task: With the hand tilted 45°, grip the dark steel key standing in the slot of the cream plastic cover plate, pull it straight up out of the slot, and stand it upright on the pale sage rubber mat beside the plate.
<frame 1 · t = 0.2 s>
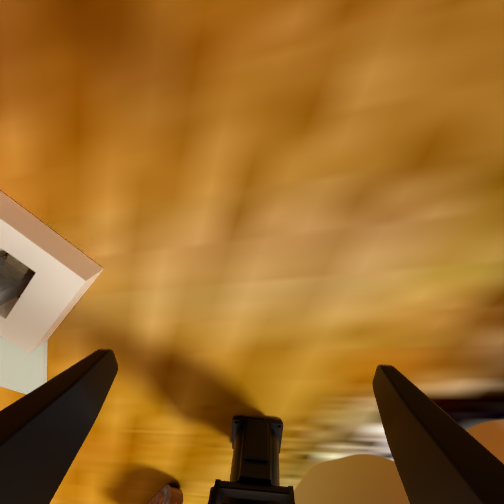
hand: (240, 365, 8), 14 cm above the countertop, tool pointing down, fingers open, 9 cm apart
key mat: (3, 353, 30), on the countertop
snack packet: (164, 495, 41), on the countertop
cover plate: (23, 270, 25), on the countertop
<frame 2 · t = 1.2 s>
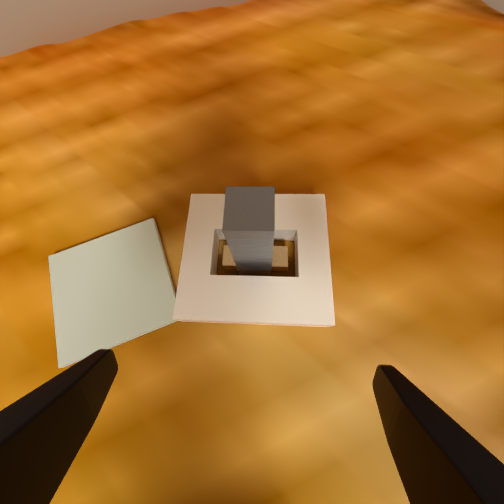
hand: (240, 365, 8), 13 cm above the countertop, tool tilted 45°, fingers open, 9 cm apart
key mat: (114, 286, 23), on the countertop
t key: (253, 240, 19), in the cover plate
cover plate: (255, 260, 23), on the countertop
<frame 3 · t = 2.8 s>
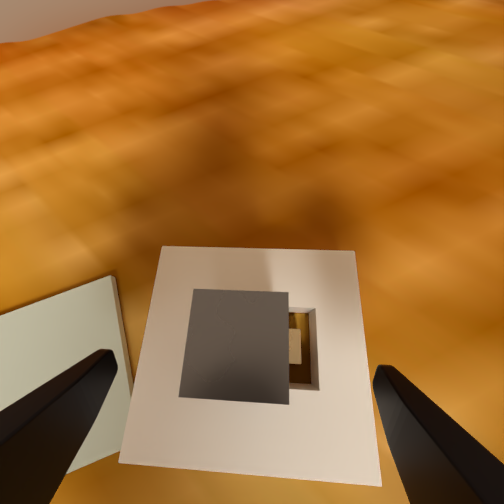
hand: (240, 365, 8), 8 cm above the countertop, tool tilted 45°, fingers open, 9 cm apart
key mat: (47, 380, 16), on the countertop
t key: (248, 343, 12), in the cover plate
cover plate: (253, 343, 16), on the countertop
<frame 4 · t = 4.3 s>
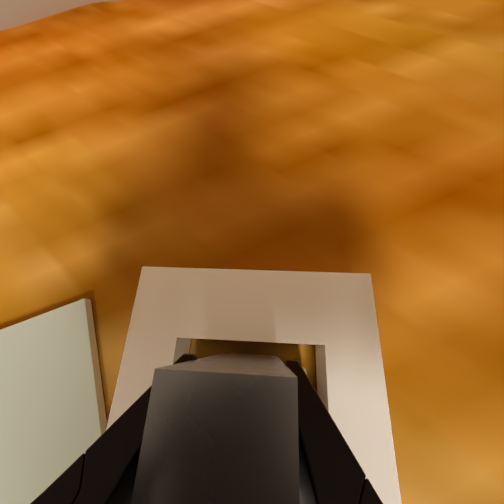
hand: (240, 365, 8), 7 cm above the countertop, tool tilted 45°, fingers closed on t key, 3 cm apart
key mat: (7, 425, 14), on the countertop
t key: (242, 401, 9), in the cover plate, touching gripper
cover plate: (250, 382, 14), on the countertop
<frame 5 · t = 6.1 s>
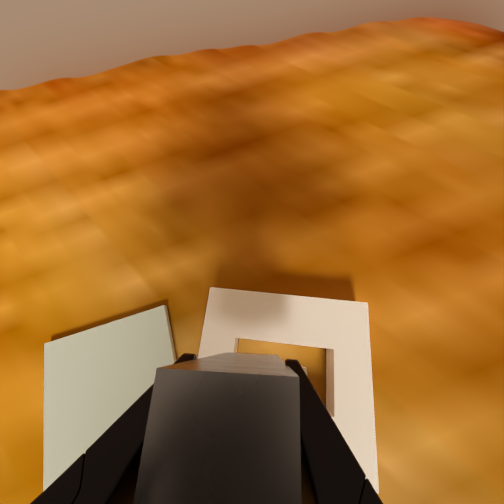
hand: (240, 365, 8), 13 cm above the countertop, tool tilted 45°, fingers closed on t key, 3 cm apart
key mat: (115, 388, 20), on the countertop
t key: (243, 401, 9), point 12 cm above the countertop, touching gripper
cover plate: (279, 371, 20), on the countertop
when the fingers open (8 cm above the countertop, at t = 8.3 s): t key stays where it is, resting on key mat.
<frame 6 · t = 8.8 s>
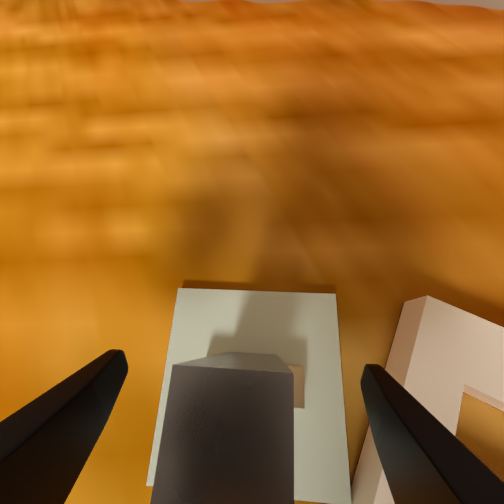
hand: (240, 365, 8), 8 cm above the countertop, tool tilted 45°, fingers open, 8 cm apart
key mat: (251, 378, 15), on the countertop
t key: (244, 396, 10), on the key mat, point 6 cm above the countertop
cover plate: (495, 451, 13), on the countertop
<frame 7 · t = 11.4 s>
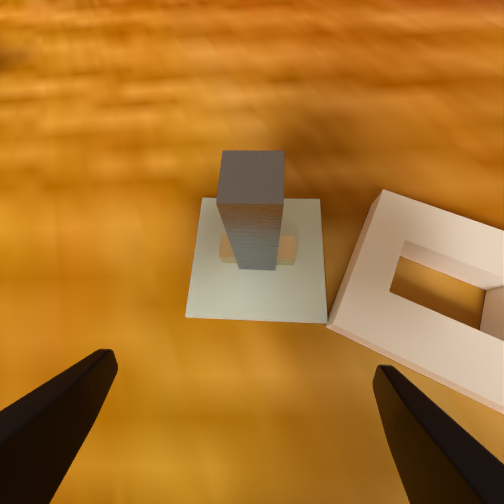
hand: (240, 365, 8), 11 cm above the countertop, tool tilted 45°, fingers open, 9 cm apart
key mat: (258, 255, 21), on the countertop
t key: (255, 226, 16), on the key mat, point 6 cm above the countertop
cover plate: (429, 294, 19), on the countertop
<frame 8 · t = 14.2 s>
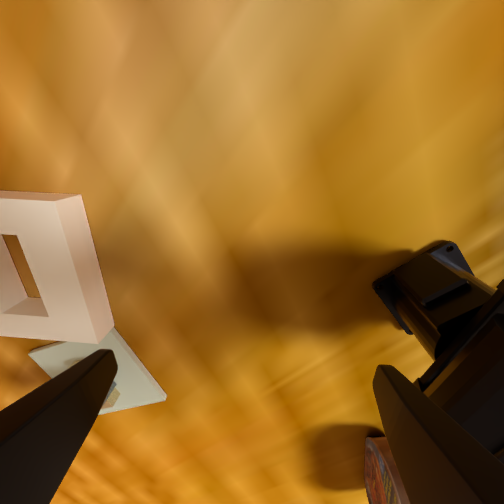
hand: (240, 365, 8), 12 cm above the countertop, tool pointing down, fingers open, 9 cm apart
key mat: (101, 373, 27), on the countertop
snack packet: (376, 455, 30), on the countertop
cover plate: (36, 263, 22), on the countertop
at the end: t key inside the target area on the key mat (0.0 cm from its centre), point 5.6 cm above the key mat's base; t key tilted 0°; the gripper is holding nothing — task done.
